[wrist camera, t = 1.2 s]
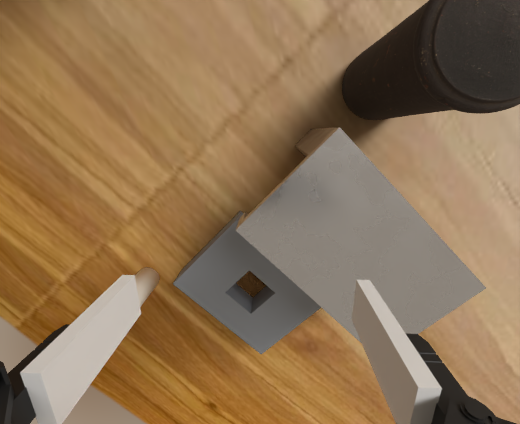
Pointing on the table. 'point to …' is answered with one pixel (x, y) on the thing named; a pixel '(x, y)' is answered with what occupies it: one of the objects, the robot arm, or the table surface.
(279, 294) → the socket block
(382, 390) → the robot arm
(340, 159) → the grey legged flat piece
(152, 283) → the peg
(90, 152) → the table surface
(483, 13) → the container
